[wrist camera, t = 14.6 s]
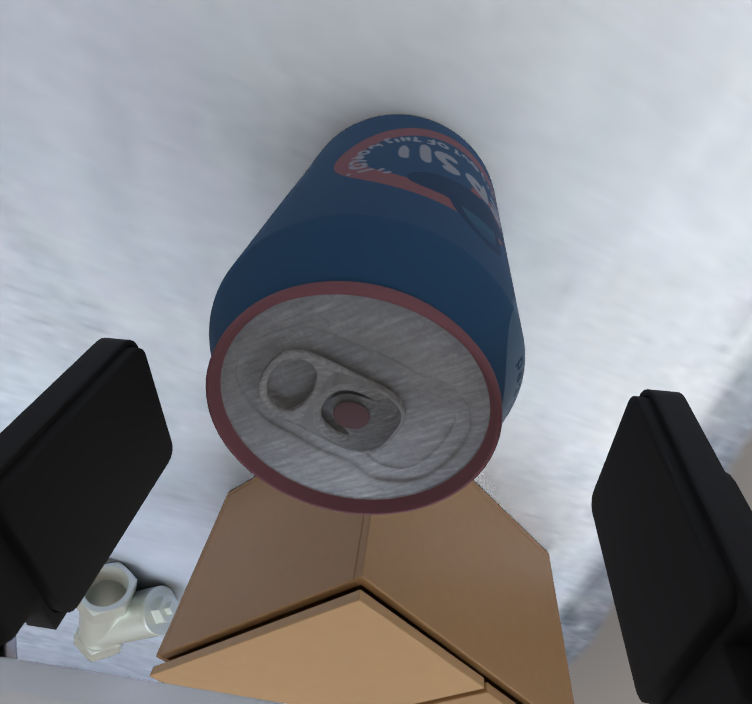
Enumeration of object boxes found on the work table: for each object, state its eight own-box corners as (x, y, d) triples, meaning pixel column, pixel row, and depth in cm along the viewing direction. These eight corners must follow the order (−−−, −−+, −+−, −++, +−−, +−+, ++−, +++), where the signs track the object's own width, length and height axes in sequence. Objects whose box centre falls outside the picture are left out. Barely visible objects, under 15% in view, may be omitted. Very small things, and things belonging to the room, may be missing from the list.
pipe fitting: (189, 576, 38) (95, 555, 37) (170, 631, 35) (66, 609, 34) (176, 623, 43) (92, 606, 42) (158, 675, 40) (67, 658, 38)
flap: (152, 666, 23) (149, 676, 23) (360, 588, 17) (358, 600, 17) (271, 727, 26) (268, 736, 26) (484, 677, 20) (484, 688, 20)
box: (228, 492, 31) (146, 675, 23) (389, 398, 25) (358, 598, 17) (386, 608, 37) (367, 790, 28) (549, 553, 31) (584, 761, 22)
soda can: (533, 173, 18) (625, 384, 9) (428, 314, 22) (411, 570, 12) (362, 64, 17) (244, 168, 7) (283, 234, 21) (136, 450, 11)
